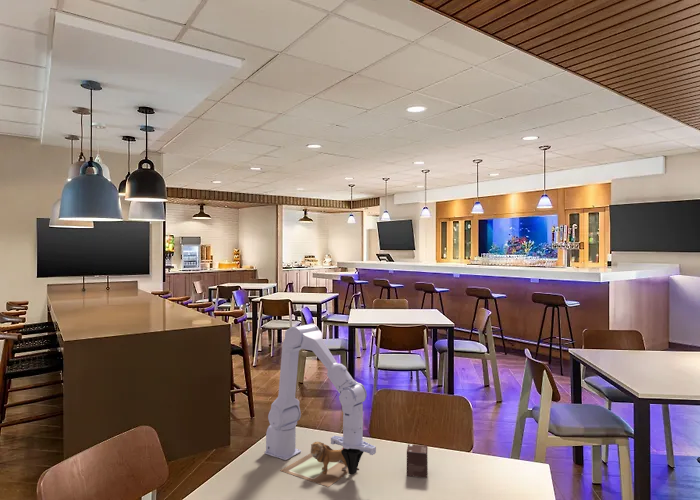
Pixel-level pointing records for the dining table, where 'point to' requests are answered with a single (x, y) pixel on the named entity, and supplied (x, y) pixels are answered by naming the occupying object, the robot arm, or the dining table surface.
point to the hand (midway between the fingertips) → (352, 473)
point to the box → (417, 461)
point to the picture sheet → (316, 470)
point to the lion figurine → (326, 455)
